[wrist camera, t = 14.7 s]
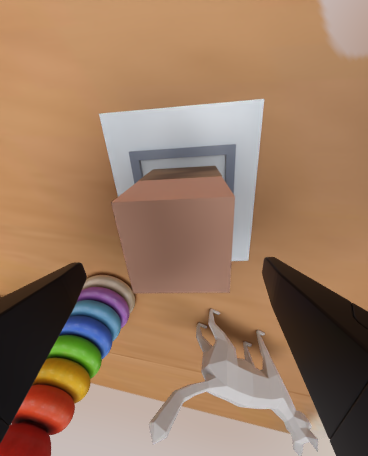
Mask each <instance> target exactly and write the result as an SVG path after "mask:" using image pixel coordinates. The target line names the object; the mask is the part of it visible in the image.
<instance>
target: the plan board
mask: <svg viewBox="0 0 368 456" xmlns="http://www.w3.org/2000/svg"><path fill="white" fill-rule="evenodd" d="M263 107H264V99H257V100H246V101H235V102H224V103H213V104H202V105H191V106H180V107H168V108H157V109H146V110H135V111H124V112H113V113H102V114H99V116H100V120H101V125H102V129H103V133H104V138H105V142H106V147H107V151H108V155H109V160H110V164H111V168H112V173H113V177H114V181H115V186H116V190H117V194H118V197H119V196H120V195H121V194H122V193H124V192H125V191H126V190H128V189H129V188H130V187H131V186H133V185H134V184H135V183H136V182H138V181H139V180H140V179H141V178H142V177H144V176H145V175H146V174H147V173H149V172H150V171H151V170H153V169H167V168H183V167H200V166H216V167H217V169H218V170H219V172H220V173H221V175H222V178H223V179H224V181H225V182H226V184H227V185H228V187H229V188H230V190H231V191H232V193H233V194H234V196H235V207H234V225H233V243H232V260H231V261H248V259H249V249H250V239H251V229H252V218H253V208H254V198H255V188H256V178H257V168H258V158H259V147H260V137H261V127H262V117H263Z"/></svg>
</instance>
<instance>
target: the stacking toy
mask: <svg viewBox="0 0 368 456" xmlns="http://www.w3.org/2000/svg"><path fill="white" fill-rule="evenodd" d="M134 306H135V296H134V294H133V291H132V290H131V288H130V287H129V286H128V285H127V284H126V283H124V282H123V281H122V280H120V279H118V278H115V277H112V276H108V275H96V276H92V277H90V278H88V279H86V282H85V284H84V286H83V289H82V291H81V293H80V296H79V298H78V300H77V303H76V305H75V307H74V309H73V311H72V313H71V315H70V317H69V318H68V320H67V322H66V324H65V326H64V328H63V329H62V331H61V333H60V335H59V337H58V339H57V340H56V342H55V344H54V346H53V348H52V350H51V351H50V353H49V355H48V357H47V359H46V361H45V362H44V364H43V366H42V368H41V370H40V372H39V373H38V375H37V377H36V379H35V381H34V383H33V384H32V386H31V388H30V390H29V392H28V394H27V395H26V397H25V399H24V401H23V403H22V405H21V406H20V408H19V410H18V412H17V414H16V416H15V417H14V419H13V421H12V425H10V427H9V429H8V431H7V432H6V434H5V436H4V438H3V440H2V442H1V443H0V456H51V442H50V436H49V435H53V434H56V433H59V432H61V431H62V430H63V429H65V428H66V427H67V425H68V424H69V423H70V421H71V419H72V417H73V414H74V409H75V405H74V403H77V402H79V401H80V400H82V399H83V398H84V397H85V395H86V394H87V392H88V390H89V387H90V379H91V378H92V377H94V376H95V375H96V373H97V372H98V371H99V369H100V366H101V361H102V359H103V358H104V357H105V356H106V355H107V354H108V353H109V351H110V349H111V346H112V341H114V340H115V339H116V338H117V336H118V334H119V332H120V329H121V328H122V327H123V326H124V325H125V324H126V323H127V321H128V318H129V314H130V313H131V312H132V310H133V308H134Z"/></svg>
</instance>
